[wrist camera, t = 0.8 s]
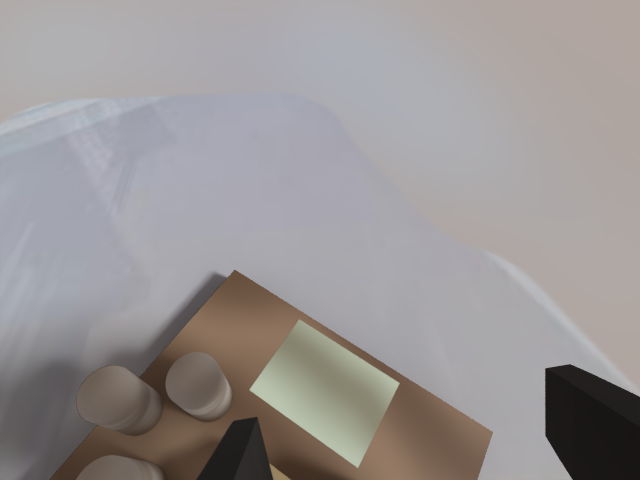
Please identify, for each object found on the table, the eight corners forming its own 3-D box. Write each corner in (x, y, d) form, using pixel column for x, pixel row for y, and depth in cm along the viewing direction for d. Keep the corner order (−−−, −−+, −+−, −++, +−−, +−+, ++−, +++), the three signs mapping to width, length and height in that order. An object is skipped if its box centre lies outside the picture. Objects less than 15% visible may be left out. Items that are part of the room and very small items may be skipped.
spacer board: (356, 797, 15) (390, 952, 10) (47, 499, 19) (-38, 503, 14) (481, 435, 22) (537, 419, 17) (237, 279, 27) (225, 231, 22)
